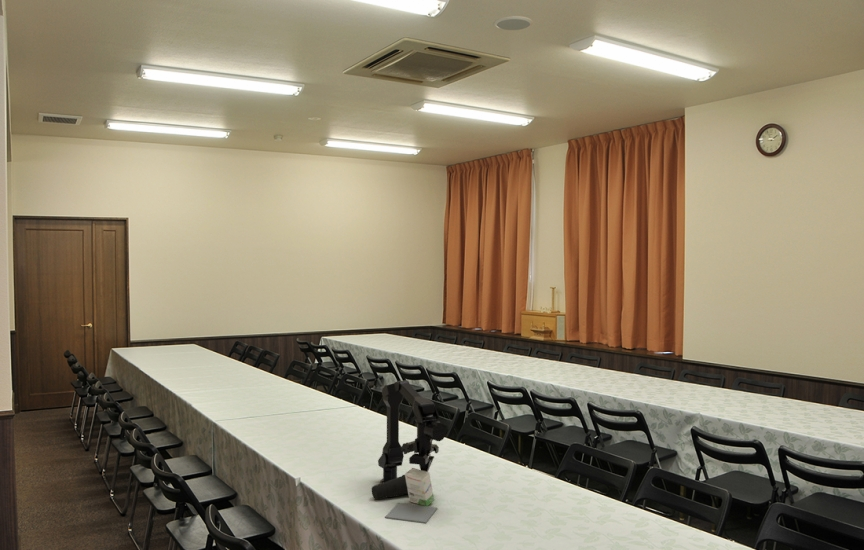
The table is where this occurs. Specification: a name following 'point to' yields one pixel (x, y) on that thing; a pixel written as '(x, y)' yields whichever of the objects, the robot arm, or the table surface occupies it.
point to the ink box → (419, 487)
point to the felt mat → (411, 513)
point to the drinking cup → (390, 488)
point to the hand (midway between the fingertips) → (424, 476)
